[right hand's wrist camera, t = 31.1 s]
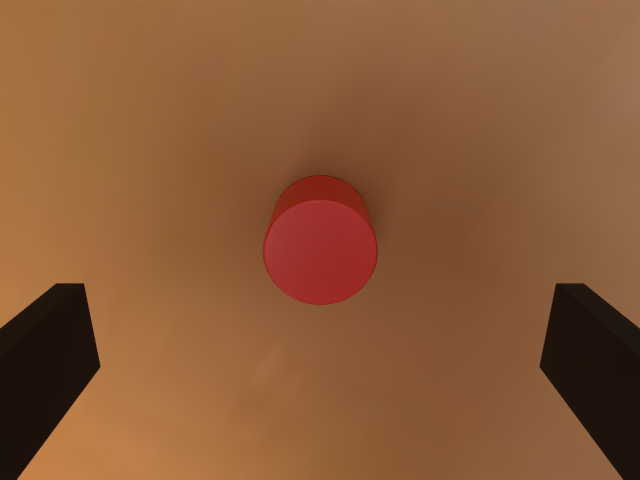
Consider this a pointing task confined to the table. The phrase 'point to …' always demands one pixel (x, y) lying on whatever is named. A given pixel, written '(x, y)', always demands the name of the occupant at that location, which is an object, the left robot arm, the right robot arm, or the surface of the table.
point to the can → (320, 241)
